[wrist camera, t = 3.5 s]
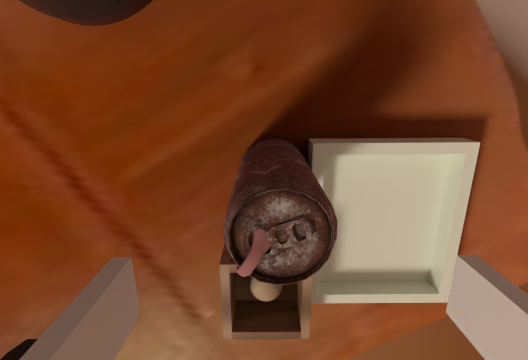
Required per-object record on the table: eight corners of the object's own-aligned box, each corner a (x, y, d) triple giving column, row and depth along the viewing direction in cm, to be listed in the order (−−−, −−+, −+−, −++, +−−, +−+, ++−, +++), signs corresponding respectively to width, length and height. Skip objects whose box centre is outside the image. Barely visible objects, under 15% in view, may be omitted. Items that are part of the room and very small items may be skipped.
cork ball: (250, 260, 31) (248, 279, 28) (281, 260, 31) (283, 279, 28) (250, 287, 32) (249, 308, 28) (281, 287, 32) (283, 308, 28)
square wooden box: (226, 237, 30) (219, 264, 26) (305, 236, 30) (312, 264, 26) (229, 302, 33) (223, 339, 28) (302, 302, 33) (309, 338, 28)
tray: (308, 138, 28) (313, 143, 25) (460, 137, 28) (480, 142, 25) (303, 286, 32) (306, 303, 30) (433, 285, 32) (447, 302, 30)
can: (226, 179, 29) (195, 258, 15) (264, 123, 27) (266, 158, 14) (278, 212, 30) (291, 314, 16) (317, 160, 28) (367, 226, 15)
